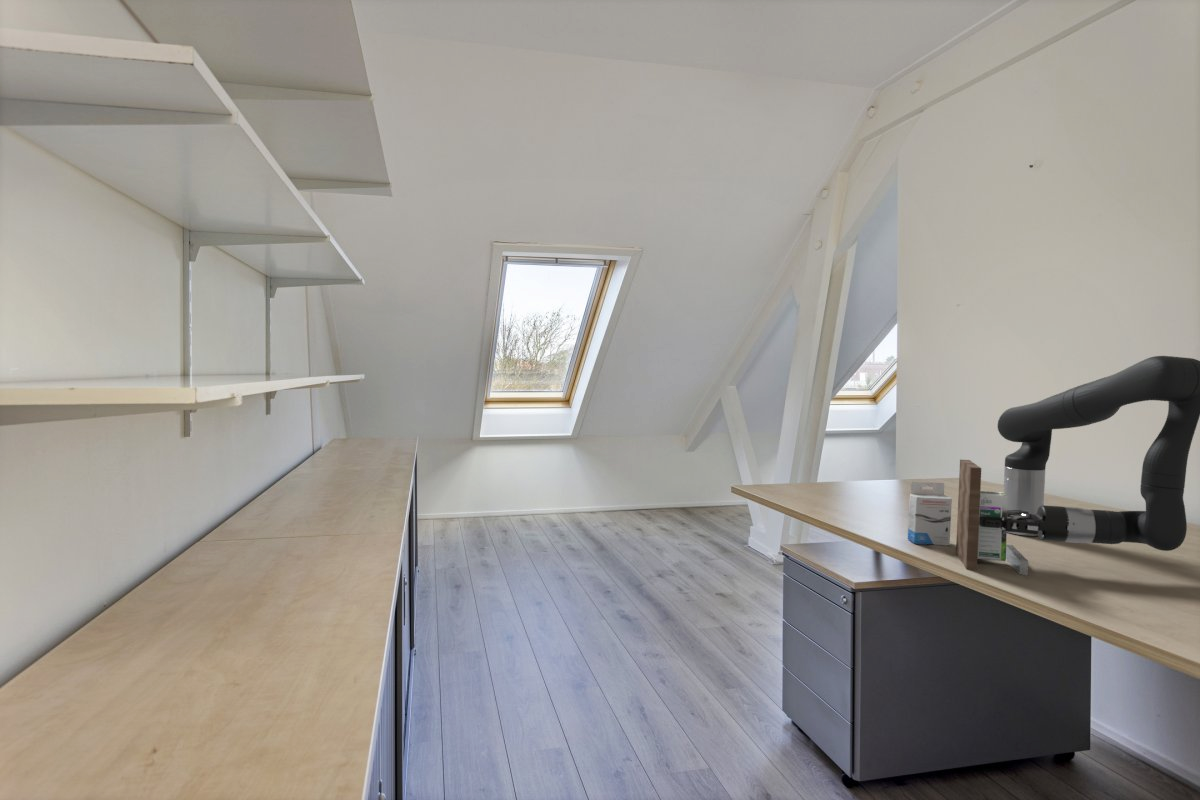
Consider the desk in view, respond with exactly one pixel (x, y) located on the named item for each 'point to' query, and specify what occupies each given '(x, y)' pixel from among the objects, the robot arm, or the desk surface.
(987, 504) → the syrup box
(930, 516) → the ink box
